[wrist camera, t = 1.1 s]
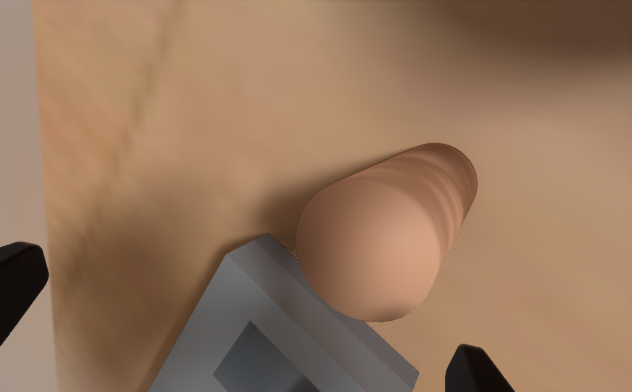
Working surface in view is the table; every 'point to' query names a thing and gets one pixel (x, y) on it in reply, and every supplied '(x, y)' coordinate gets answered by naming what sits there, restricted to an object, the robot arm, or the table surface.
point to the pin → (385, 231)
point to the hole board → (276, 335)
